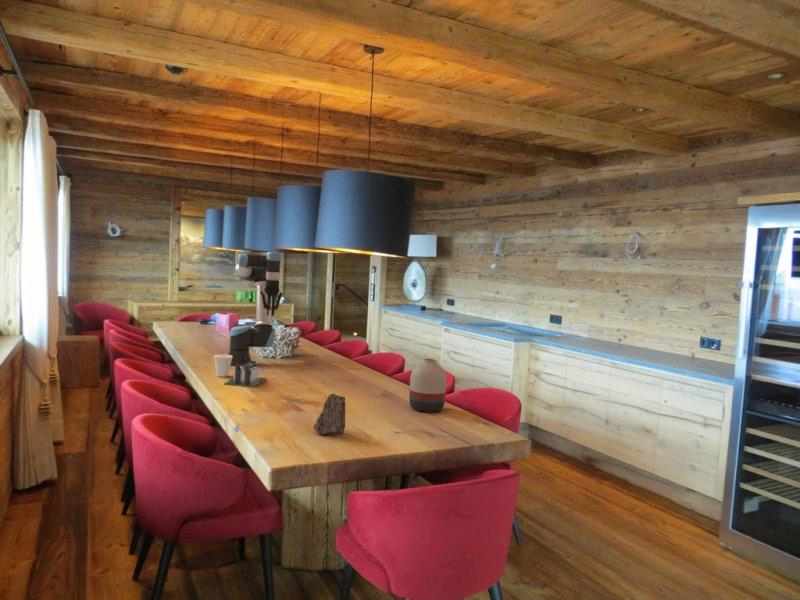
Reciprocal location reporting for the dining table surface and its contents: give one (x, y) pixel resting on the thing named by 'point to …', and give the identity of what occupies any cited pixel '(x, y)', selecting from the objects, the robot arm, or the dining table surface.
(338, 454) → the dining table surface
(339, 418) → the stone
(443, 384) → the vase
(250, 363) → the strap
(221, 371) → the cup
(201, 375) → the dining table surface
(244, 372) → the green circuit board
